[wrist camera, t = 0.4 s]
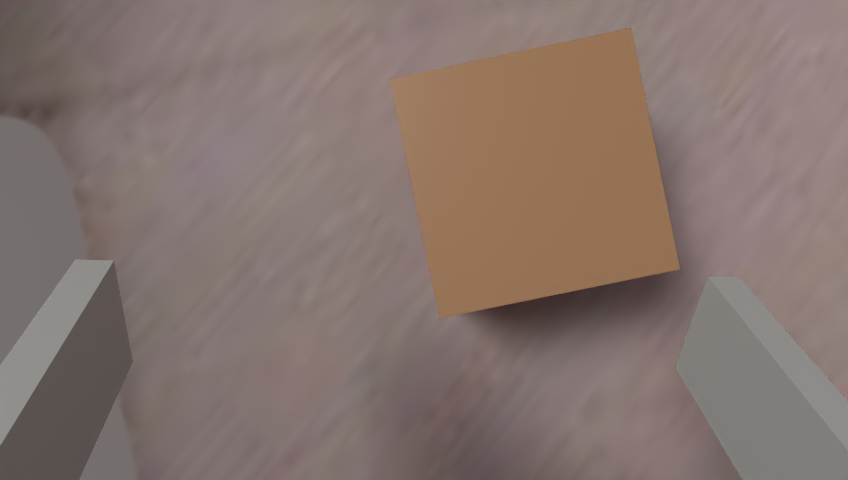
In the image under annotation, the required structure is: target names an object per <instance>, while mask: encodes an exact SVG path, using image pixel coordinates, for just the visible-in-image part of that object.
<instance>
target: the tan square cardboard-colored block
mask: <svg viewBox="0 0 848 480" xmlns="http://www.w3.org/2000/svg"><path fill="white" fill-rule="evenodd" d="M390 82H391V87H392V91H393V96H394V101H395V106H396V111H397V115H398V120H399V125H400V130H401V135H402V140H403V144H404V149H405V154H406V159H407V164H408V169H409V173H410V178H411V183H412V188H413V193H414V197H415V202H416V207H417V212H418V217H419V222H420V226H421V231H422V236H423V241H424V246H425V250H426V255H427V260H428V265H429V270H430V275H431V279H432V284H433V289H434V294H435V299H436V303H437V308H438V313H439V318H444V317H449V316H454V315H459V314H464V313H469V312H474V311H479V310H484V309H489V308H493V307H498V306H503V305H508V304H513V303H518V302H523V301H528V300H533V299H537V298H542V297H547V296H552V295H557V294H562V293H567V292H572V291H577V290H581V289H586V288H591V287H596V286H601V285H606V284H611V283H616V282H621V281H626V280H630V279H635V278H640V277H645V276H650V275H655V274H660V273H665V272H670V271H674V270H679V269H680V266H679V261H678V256H677V251H676V246H675V241H674V236H673V231H672V226H671V221H670V217H669V212H668V207H667V202H666V197H665V192H664V187H663V182H662V177H661V172H660V167H659V162H658V158H657V153H656V148H655V143H654V138H653V133H652V128H651V123H650V118H649V113H648V108H647V103H646V98H645V94H644V89H643V84H642V79H641V74H640V69H639V64H638V59H637V54H636V49H635V44H634V39H633V35H632V30H631V28H629V29H624V30H619V31H615V32H610V33H605V34H600V35H596V36H591V37H586V38H582V39H577V40H572V41H568V42H563V43H558V44H553V45H549V46H544V47H539V48H535V49H530V50H525V51H521V52H516V53H511V54H507V55H502V56H497V57H492V58H488V59H483V60H478V61H474V62H469V63H464V64H460V65H455V66H450V67H445V68H441V69H436V70H431V71H427V72H422V73H417V74H413V75H408V76H403V77H399V78H394V79H390Z"/></svg>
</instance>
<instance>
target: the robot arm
mask: <svg viewBox="0 0 848 480" xmlns="http://www.w3.org/2000/svg"><path fill="white" fill-rule="evenodd" d="M132 362H133V359H132V354H131V349H130V344H129V338H128V333H127V328H126V322H125V317H124V312H123V307H122V301H121V296H120V291H119V285H118V280H117V275H116V269H115V264H114V261H109V260H75V261H74V262H73V264H72V265H71V266H70V268H69V269H68V271H67V272H66V274H65V275H64V276H63V278H62V279H61V281H60V282H59V283H58V285H57V286H56V288H55V289H54V291H53V292H52V293H51V295H50V296H49V297H48V299H47V300H46V302H45V303H44V305H43V306H42V307H41V309H40V310H39V312H38V313H37V314H36V316H35V317H34V319H33V320H32V322H31V323H30V324H29V326H28V327H27V329H26V330H25V331H24V333H23V335H22V336H21V337H20V339H19V340H18V341H17V343H16V344H15V345H14V347H13V348H12V350H11V351H10V353H9V354H8V355H7V357H6V358H5V360H4V361H3V362H2V364H1V365H0V480H79V479H80V476H81V474H82V472H83V470H84V467H85V465H86V463H87V461H88V459H89V457H90V454H91V452H92V450H93V448H94V446H95V443H96V441H97V439H98V437H99V435H100V432H101V430H102V428H103V426H104V423H105V421H106V419H107V417H108V414H109V412H110V410H111V408H112V406H113V404H114V402H115V399H116V397H117V395H118V393H119V391H120V389H121V386H122V384H123V382H124V380H125V378H126V375H127V373H128V371H129V369H130V367H131V364H132ZM675 368H676V370H677V372H678V373H679V375H680V377H681V378H682V380H683V382H684V383H685V385H686V387H687V388H688V390H689V392H690V393H691V395H692V397H693V398H694V400H695V402H696V403H697V405H698V407H699V408H700V410H701V412H702V413H703V415H704V417H705V418H706V420H707V422H708V423H709V425H710V427H711V428H712V430H713V432H714V433H715V435H716V437H717V438H718V440H719V442H720V443H721V445H722V447H723V448H724V450H725V452H726V453H727V455H728V457H729V458H730V460H731V462H732V463H733V465H734V467H735V468H736V470H737V472H738V473H739V475H740V477H741V478H742V480H848V401H847V400H846V399H845V398H844V396H843V395H842V394H841V393H840V392H839V391H838V390H837V388H836V387H835V386H834V385H833V384H832V383H831V382H830V380H829V379H828V378H827V377H826V376H825V375H824V374H823V372H822V371H821V370H820V369H819V368H818V367H817V366H816V364H815V363H814V362H813V361H812V360H811V359H810V358H809V356H808V355H807V354H806V353H805V352H804V351H803V350H802V348H801V347H800V346H799V345H798V344H797V343H796V342H795V340H794V339H793V338H792V337H791V336H790V335H789V334H788V332H787V331H786V330H785V329H784V328H783V327H782V326H781V324H780V323H779V322H778V321H777V320H776V319H775V318H774V316H773V315H772V314H771V313H770V312H769V311H768V310H767V308H766V307H765V306H764V305H763V304H762V303H761V302H760V300H759V299H758V298H757V297H756V296H755V295H754V294H753V292H752V291H751V290H750V289H749V288H748V287H747V286H746V284H745V283H744V282H743V281H742V280H741V279H740V278H739V277H715V276H708V277H707V280H706V283H705V285H704V288H703V291H702V294H701V296H700V299H699V302H698V305H697V307H696V310H695V313H694V316H693V318H692V321H691V324H690V327H689V329H688V332H687V335H686V338H685V340H684V343H683V346H682V349H681V352H680V354H679V357H678V360H677V363H676V365H675Z"/></svg>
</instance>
